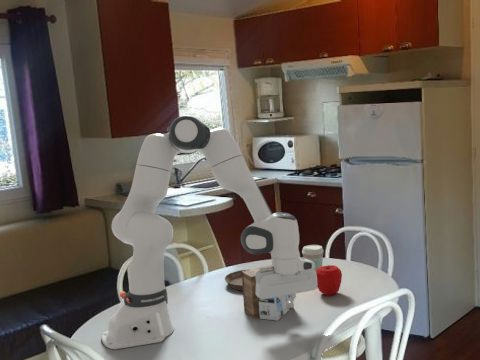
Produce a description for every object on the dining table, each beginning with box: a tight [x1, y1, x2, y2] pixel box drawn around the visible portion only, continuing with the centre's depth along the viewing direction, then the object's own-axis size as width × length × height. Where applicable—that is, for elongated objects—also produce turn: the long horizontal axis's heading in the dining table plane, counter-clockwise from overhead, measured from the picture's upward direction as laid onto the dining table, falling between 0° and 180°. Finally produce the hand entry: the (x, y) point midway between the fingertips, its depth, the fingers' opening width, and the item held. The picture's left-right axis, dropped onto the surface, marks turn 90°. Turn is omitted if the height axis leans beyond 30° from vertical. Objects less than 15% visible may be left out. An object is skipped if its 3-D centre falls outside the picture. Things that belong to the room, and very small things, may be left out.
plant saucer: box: [224, 268, 251, 292], centre depth 225 cm, size 21×21×3 cm
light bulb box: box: [258, 295, 290, 321], centre depth 191 cm, size 11×7×11 cm, turn 154°
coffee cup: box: [301, 244, 325, 271], centre depth 227 cm, size 9×8×12 cm
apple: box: [316, 264, 343, 297], centre depth 207 cm, size 10×10×11 cm
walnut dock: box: [242, 264, 295, 319], centre depth 195 cm, size 15×8×14 cm, turn 114°
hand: (287, 307), depth 181 cm, fingers closed
